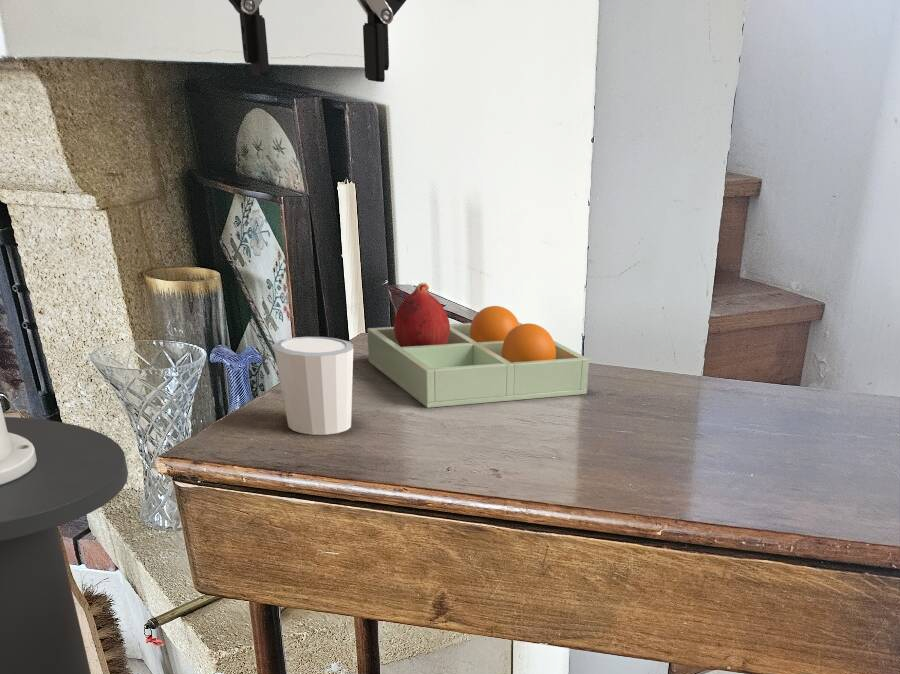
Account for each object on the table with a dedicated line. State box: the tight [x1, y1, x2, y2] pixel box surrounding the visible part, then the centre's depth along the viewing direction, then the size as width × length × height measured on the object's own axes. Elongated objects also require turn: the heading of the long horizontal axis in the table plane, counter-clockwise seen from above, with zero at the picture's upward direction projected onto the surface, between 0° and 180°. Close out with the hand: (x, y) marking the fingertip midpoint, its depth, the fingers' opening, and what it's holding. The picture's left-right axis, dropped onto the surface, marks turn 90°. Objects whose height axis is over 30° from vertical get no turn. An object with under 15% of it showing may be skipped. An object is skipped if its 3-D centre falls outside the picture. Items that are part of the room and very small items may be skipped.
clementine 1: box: [470, 305, 520, 342], centre depth 113 cm, size 6×6×6 cm
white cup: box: [273, 336, 354, 436], centre depth 92 cm, size 7×7×7 cm
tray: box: [366, 322, 590, 409], centre depth 109 cm, size 18×18×4 cm
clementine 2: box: [502, 322, 556, 363], centre depth 107 cm, size 6×6×6 cm
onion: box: [393, 282, 451, 347], centre depth 108 cm, size 6×6×8 cm
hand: (319, 78), depth 85 cm, fingers open, 9 cm apart
